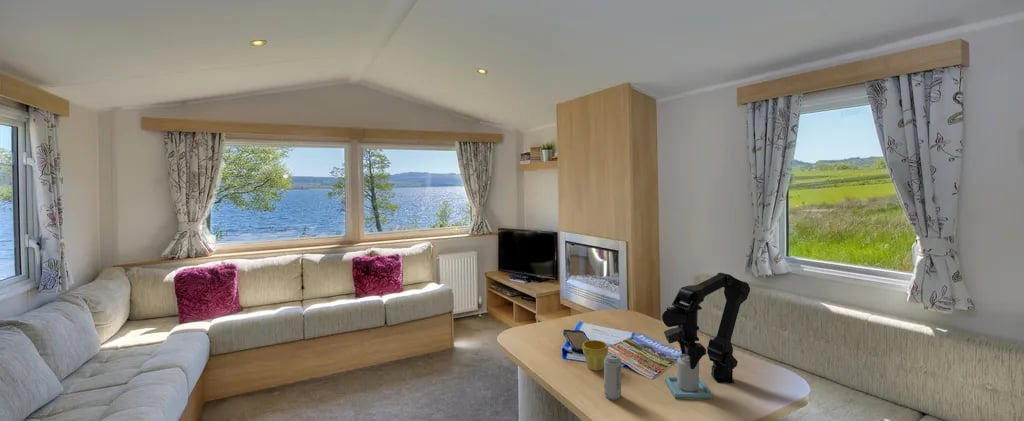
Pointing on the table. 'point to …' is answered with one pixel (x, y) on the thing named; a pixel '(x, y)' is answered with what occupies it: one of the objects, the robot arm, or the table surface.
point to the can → (687, 374)
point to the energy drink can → (612, 376)
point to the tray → (680, 394)
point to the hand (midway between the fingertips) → (688, 363)
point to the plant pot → (595, 354)
